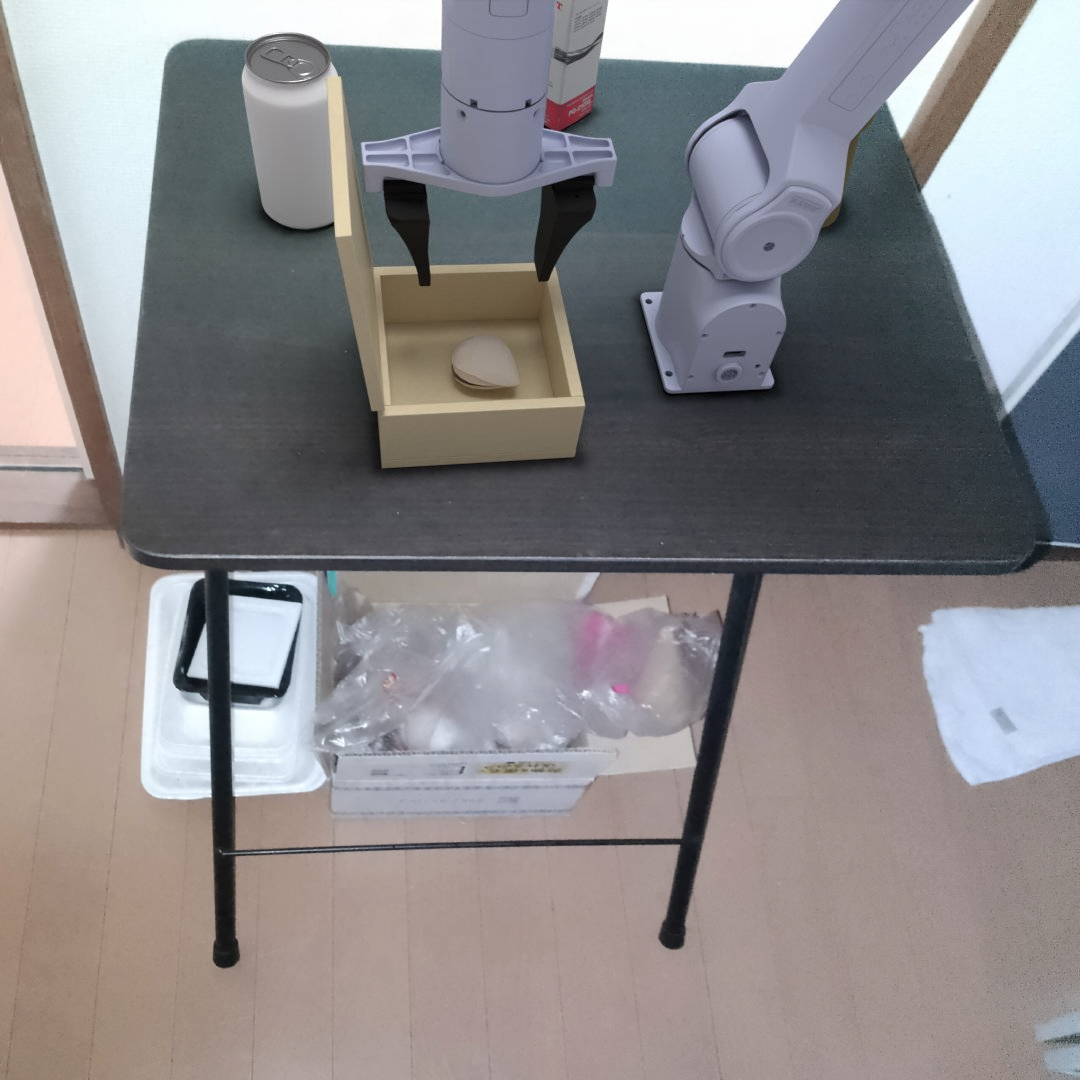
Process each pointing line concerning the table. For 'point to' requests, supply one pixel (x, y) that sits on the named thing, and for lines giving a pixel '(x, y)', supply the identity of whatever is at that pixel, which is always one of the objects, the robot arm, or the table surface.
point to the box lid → (354, 242)
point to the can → (290, 127)
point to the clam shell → (484, 363)
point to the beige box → (454, 409)
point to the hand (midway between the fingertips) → (482, 273)
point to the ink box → (574, 61)
